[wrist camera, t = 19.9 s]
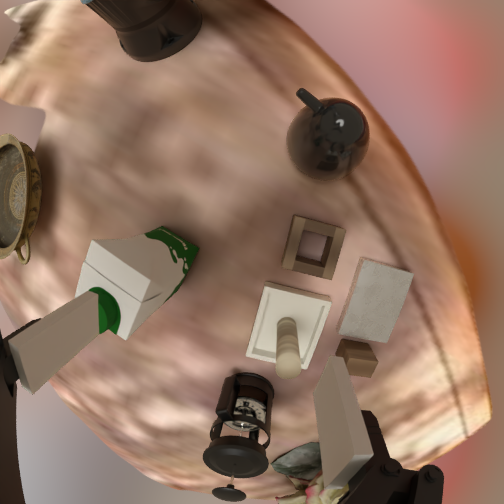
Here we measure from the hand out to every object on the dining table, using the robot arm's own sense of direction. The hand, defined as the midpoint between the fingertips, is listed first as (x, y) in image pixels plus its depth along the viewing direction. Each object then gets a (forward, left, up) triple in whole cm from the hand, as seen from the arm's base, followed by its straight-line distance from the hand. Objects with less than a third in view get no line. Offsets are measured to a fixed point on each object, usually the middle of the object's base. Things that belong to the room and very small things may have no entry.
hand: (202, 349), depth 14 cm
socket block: (-3, +8, -28) cm, 29 cm away
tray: (+10, +8, -28) cm, 30 cm away
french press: (+25, +5, -28) cm, 37 cm away
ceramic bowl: (0, -49, -28) cm, 56 cm away
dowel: (+10, +8, -27) cm, 30 cm away
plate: (+3, +20, -28) cm, 35 cm away
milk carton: (+4, -12, -28) cm, 30 cm away
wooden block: (+12, +20, -28) cm, 36 cm away
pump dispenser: (-17, +6, -28) cm, 33 cm away
